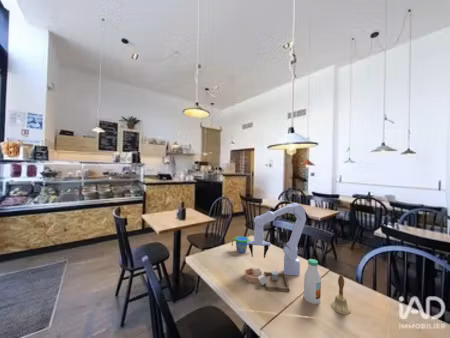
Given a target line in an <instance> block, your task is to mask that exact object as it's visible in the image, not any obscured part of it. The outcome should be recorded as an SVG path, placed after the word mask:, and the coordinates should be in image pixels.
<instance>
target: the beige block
mask: <svg viewBox="0 0 450 338" xmlns="http://www.w3.org/2000/svg"><path fill="white" fill-rule="evenodd" d="M260 270H261V269H260V267H257V268H256V269H253V270H252V272H253V276H259V275H261V272H260Z"/></svg>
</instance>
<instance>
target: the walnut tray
mask: <svg viewBox="0 0 450 338" xmlns="http://www.w3.org/2000/svg"><path fill="white" fill-rule="evenodd" d="M271 274H272V271H263V275H264V277H265V279H266V280H267V283H265V284H264V288H265V290H268V291H278V292H279V291H280V292H290V286H289V283H288V280H287V277H286V274H285V273H284V272H278V280H272V277H271Z"/></svg>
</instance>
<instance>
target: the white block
mask: <svg viewBox="0 0 450 338" xmlns="http://www.w3.org/2000/svg"><path fill="white" fill-rule="evenodd" d="M258 279H259V281H260V282H259V283H260V285H261V286H265V283H267V280H266V279H265V277H264V273H263V274H261V275H260V276H258Z"/></svg>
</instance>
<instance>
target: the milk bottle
mask: <svg viewBox="0 0 450 338" xmlns="http://www.w3.org/2000/svg"><path fill="white" fill-rule="evenodd" d="M318 267H319V261H318V260H317V259H315V258H314V259H313V258H309V259H308V260H307V268H306V270H305V273H304V281H303V298H304V300H305V301H306V302H308V303H309V304H313V305H319V304H320V303H321V295H322V293H321V292H322V289H321V287H322V285H321V284H322V277H321V274H320V272H319V269H318Z"/></svg>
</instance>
